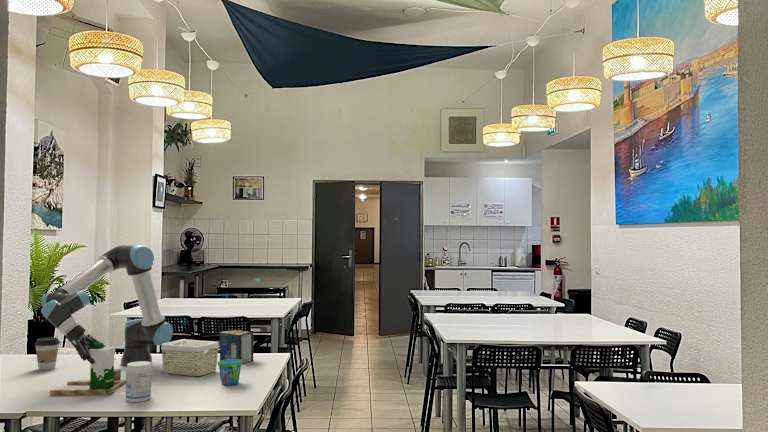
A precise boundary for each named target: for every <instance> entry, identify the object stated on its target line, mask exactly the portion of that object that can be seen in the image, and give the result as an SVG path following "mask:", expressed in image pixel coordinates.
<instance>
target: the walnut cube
mask: <svg viewBox="0 0 768 432" xmlns="http://www.w3.org/2000/svg"><path fill="white" fill-rule="evenodd" d="M121 373H122V370H121V368H114V381H120V380H122V379H121V378H122V377H121Z"/></svg>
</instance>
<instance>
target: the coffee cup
mask: <svg viewBox="0 0 768 432" xmlns="http://www.w3.org/2000/svg"><path fill="white" fill-rule="evenodd" d="M60 344H61V340H59V338H58V337H41V338H40V337H39V338H37V339H36V342H34V346H35V352H36V359H37V360H36V361H37V367H38V370H39V371H51V370H54V369H56V366H57V365H56V364H57V359H58V353H59V347H60V346H59V345H60ZM50 369H51V370H50Z"/></svg>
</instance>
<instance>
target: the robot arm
mask: <svg viewBox="0 0 768 432" xmlns="http://www.w3.org/2000/svg"><path fill="white" fill-rule="evenodd" d="M154 261H155V255H154V253H153V251H152V250H151V248H150V247H148V246H146V245H141V244H135V245H134V244H130V245H129V244H128V245H127V244H124V245H123V244H122V245H118V246H115V247H113V248H112V249H110V250H108V251H106V252H105V253H103V254H102V255H100V256H99V257H98V258H97V261H95V262H94V263H93V264H91V265H90V266H89V267H87V268H86V269H84V270H83V271H81V272H80V273H79V274H78V275H76V276H75V277H74V278H72V279H70V280H69V281H67V282H66V283H65V284H64V285H62V286H61V287H59V288H58V289H56V290H54V292H47V293H45V294H44V295H43V296H42V297H41V301H40V304H41V307H42V308H41V310H40V313H41V314H42V315H43V316H44V317H45V319H46V320H47V321H48V322H49V323H50V324H51V325H53V326H54V327H55V328H56V330H58V332H59V333H60V334H62V335H63V336H65V338H66V339H67V340H68V342H69V343H71V345H72V346H73V347H74V348H75V351H76V352H77V354H78V355H79V357H80V359H81V360H83V361H85V362H86V361H87V362H88V363H90V366H91V365H92V366H93V367H94V368H95V369H96V370H97V371H98V370H99V369H100V368H101V367H102V366H103V365H102V364H101V363H100V362H99V361H98V360H97V359H96V358H95V357H94V356H93V355H91V356H90V352H89V348H90V349H92V348H93V344H94V343H102V342H101V341H99V340H98V339H96V338H95V337H93V336H92V335H91V334H89V333H88V334H85V333H86V329H85V327H83V326H82V324H80V323H79V322H78V321H77V320H76V318H74V317H73V314H76V312H78V311H80V310H82V309H83V308H84V307H86V306H87V305H89V303H90V297H89V294H88V293H87V292H86V291H85V290H87V289H88V288H90V287H91V286H92V285H93V284H95V283H96V282H98V281H100V279H101V278H103V277H104V276H105V275H107V274H112V273H113V272H114V271H116V270H120V269H126V274H127V276H129V277H131V279H132V282H133V286H134V290H135V293H136V297H137V301H138V305H139V308H140V312H141V315H142V318H138V319H132V320H131V319H130V320H127V321H125V324H124V326H125V327H124V351H123V353H122V356H121V360H120V365H121V366H124V367H125V366H126V367H127V364H128V363H131V362H138V361H147V362H151V364H152V362H153V357H152V354H151V351H150V348H149V347H150V346H149V345H151V346H162V344H163V343H168V342H171V340H172V337H173V333H174V328H173V325H172V324H170V323H169V322H167V321H166V317H165V315H164V314H161V309H160V307H159V303H158V298H157V295H156V293H155V292H156V291H155V287H154V284H153V281H152V277H151V271H152V269H153V267H152V266H153V265H154ZM103 347H107V346H106V345H105V344H104V343H103ZM115 360H116V358H115V357H114V361H115Z"/></svg>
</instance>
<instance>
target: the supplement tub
mask: <svg viewBox="0 0 768 432" xmlns="http://www.w3.org/2000/svg"><path fill="white" fill-rule="evenodd" d="M152 368H153V367H152V363H151V362H147V361H138V362H131V363H128V364H127V366H126V370H125V371H126V372H125V373H126V376H125V377H126V378H125V381H126V384H125V400H126V402H128V403H129V402H130V403H142V402H147V401H149V400H150V399H151V398H152Z"/></svg>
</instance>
